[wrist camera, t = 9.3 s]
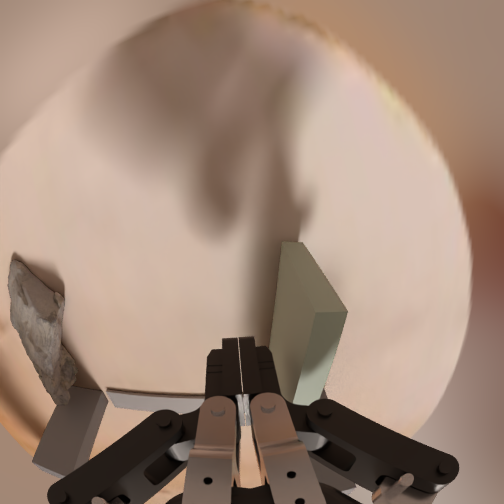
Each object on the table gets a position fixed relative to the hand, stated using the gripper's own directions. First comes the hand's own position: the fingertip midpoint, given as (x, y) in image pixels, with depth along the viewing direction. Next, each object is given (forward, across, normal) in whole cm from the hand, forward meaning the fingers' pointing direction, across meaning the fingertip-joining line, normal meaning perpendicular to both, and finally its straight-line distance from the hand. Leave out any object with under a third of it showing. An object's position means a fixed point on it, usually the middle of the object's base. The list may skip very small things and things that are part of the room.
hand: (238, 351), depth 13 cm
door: (+4, -3, +3) cm, 6 cm away
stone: (+6, +16, +2) cm, 17 cm away
